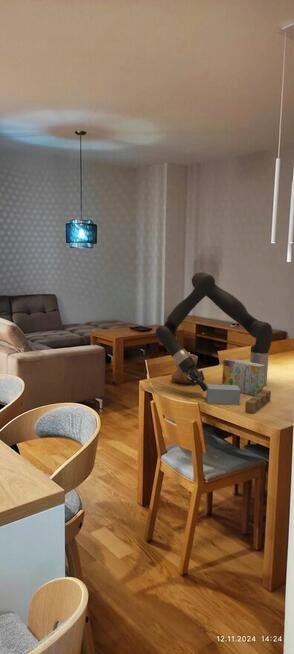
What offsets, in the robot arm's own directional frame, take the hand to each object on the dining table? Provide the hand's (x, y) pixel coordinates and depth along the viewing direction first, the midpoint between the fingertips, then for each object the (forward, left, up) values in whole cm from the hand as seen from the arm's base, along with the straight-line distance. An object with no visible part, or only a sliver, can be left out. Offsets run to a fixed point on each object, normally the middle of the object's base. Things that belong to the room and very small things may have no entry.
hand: (206, 390), depth 221 cm
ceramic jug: (-19, -21, -4) cm, 28 cm away
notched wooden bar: (-3, +24, -4) cm, 25 cm away
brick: (0, +9, -4) cm, 10 cm away
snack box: (-22, +9, -4) cm, 24 cm away
